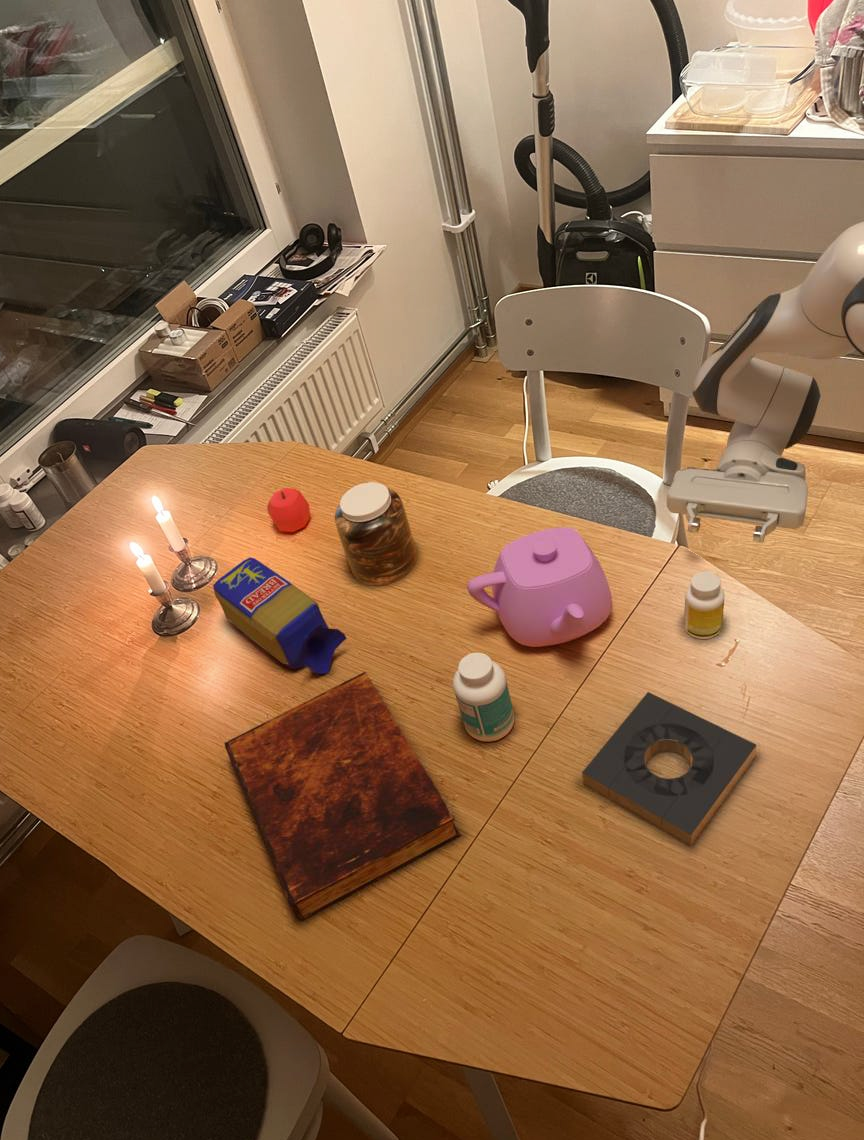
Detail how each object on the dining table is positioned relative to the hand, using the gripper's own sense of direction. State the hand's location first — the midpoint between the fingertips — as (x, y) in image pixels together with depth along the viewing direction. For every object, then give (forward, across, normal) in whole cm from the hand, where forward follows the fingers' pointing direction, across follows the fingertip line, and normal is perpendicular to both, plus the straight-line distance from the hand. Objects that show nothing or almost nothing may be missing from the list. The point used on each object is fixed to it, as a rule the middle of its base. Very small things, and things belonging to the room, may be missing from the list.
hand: (724, 534), depth 137 cm
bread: (+31, -64, +8) cm, 72 cm away
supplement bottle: (+12, 0, +8) cm, 14 cm away
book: (+56, -40, +8) cm, 69 cm away
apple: (+5, -77, +8) cm, 78 cm away
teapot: (+15, -22, +8) cm, 28 cm away
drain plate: (+38, +2, +8) cm, 39 cm away
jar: (+11, -55, +8) cm, 57 cm away
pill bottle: (+38, -24, +8) cm, 45 cm away
